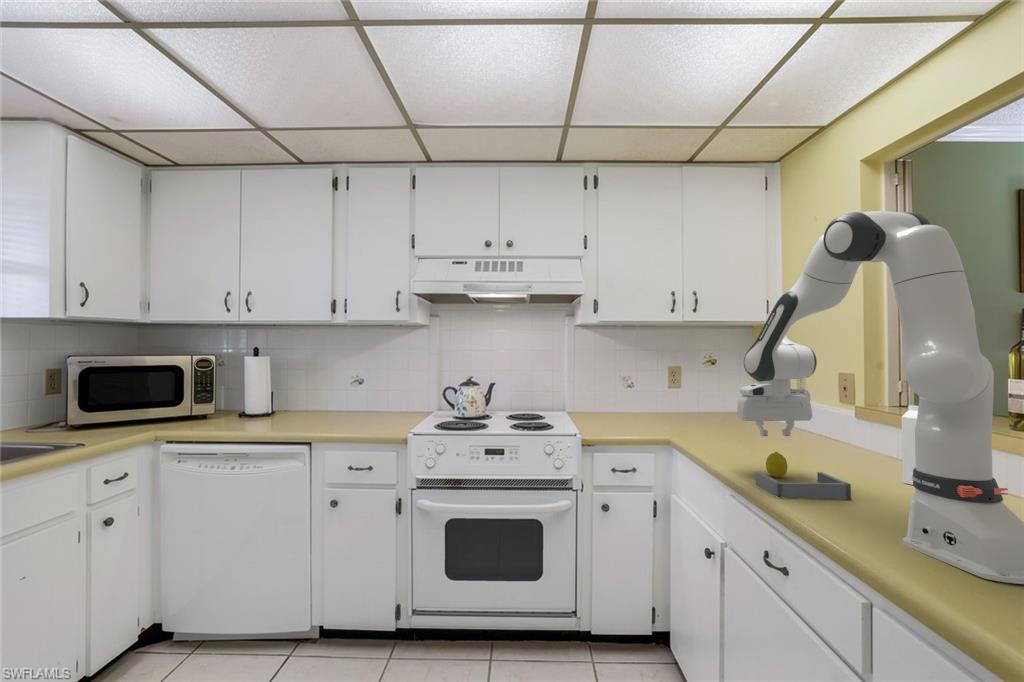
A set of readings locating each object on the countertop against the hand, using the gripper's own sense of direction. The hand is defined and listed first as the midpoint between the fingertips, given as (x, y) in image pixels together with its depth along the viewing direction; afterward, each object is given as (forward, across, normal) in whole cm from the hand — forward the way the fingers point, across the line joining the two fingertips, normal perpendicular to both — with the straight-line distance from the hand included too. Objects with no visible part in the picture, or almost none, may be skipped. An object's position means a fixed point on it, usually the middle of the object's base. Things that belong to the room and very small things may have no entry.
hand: (775, 436), depth 140 cm
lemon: (+13, 0, 0) cm, 13 cm away
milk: (+13, -38, +4) cm, 40 cm away
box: (+13, 0, +14) cm, 19 cm away
